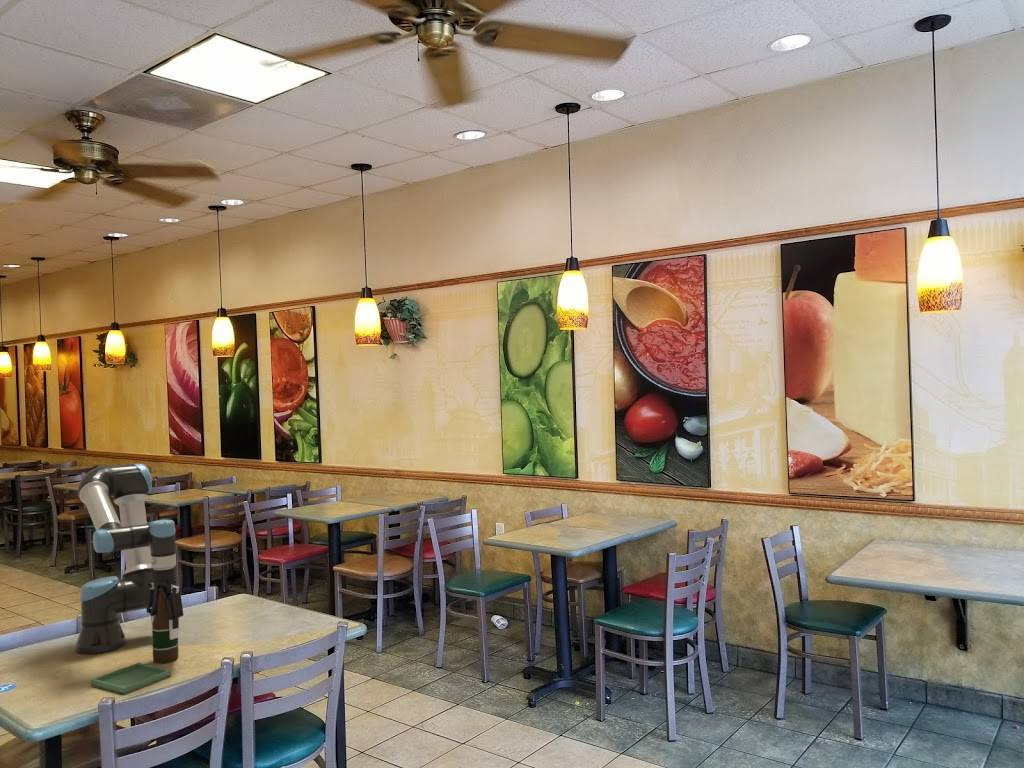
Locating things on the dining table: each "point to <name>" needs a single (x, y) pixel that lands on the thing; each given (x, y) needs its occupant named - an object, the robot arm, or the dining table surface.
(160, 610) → the beer bottle
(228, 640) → the dining table surface
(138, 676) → the tray
